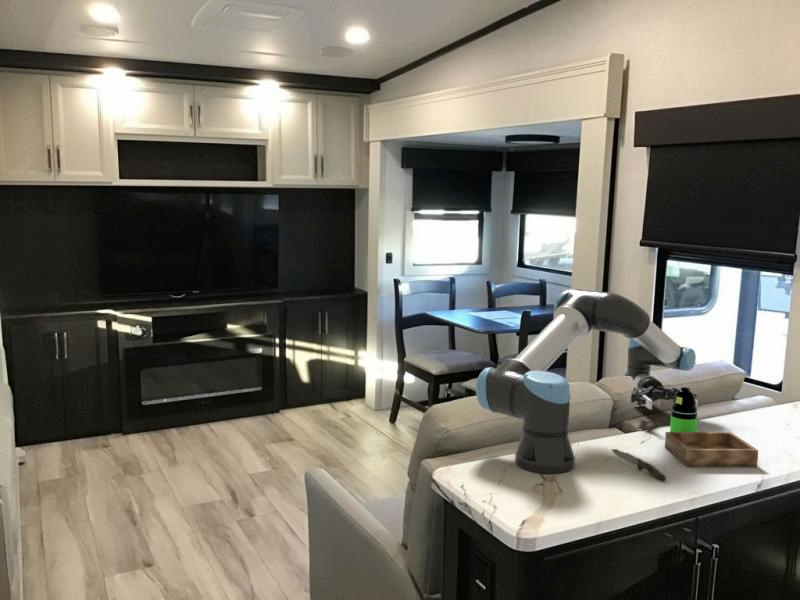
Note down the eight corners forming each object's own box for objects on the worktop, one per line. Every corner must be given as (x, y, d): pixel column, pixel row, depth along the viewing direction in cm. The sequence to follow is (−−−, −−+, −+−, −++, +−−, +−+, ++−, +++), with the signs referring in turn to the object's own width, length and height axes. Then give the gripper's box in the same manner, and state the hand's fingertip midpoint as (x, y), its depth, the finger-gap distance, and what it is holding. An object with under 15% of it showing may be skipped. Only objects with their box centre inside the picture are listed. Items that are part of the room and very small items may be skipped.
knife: (609, 456, 187) (609, 445, 186) (613, 455, 187) (613, 444, 187) (663, 483, 168) (663, 471, 168) (667, 482, 168) (668, 470, 168)
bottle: (677, 433, 205) (679, 384, 204) (701, 439, 200) (703, 388, 198) (664, 438, 201) (666, 388, 199) (688, 445, 195) (691, 393, 193)
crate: (686, 467, 178) (687, 450, 178) (664, 447, 193) (665, 432, 192) (757, 467, 178) (758, 450, 177) (729, 447, 193) (730, 432, 192)
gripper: (685, 398, 229) (714, 417, 208) (610, 398, 229) (631, 417, 208) (686, 376, 228) (715, 392, 207) (610, 376, 228) (632, 392, 207)
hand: (673, 405), depth 208 cm, fingers open, 13 cm apart
